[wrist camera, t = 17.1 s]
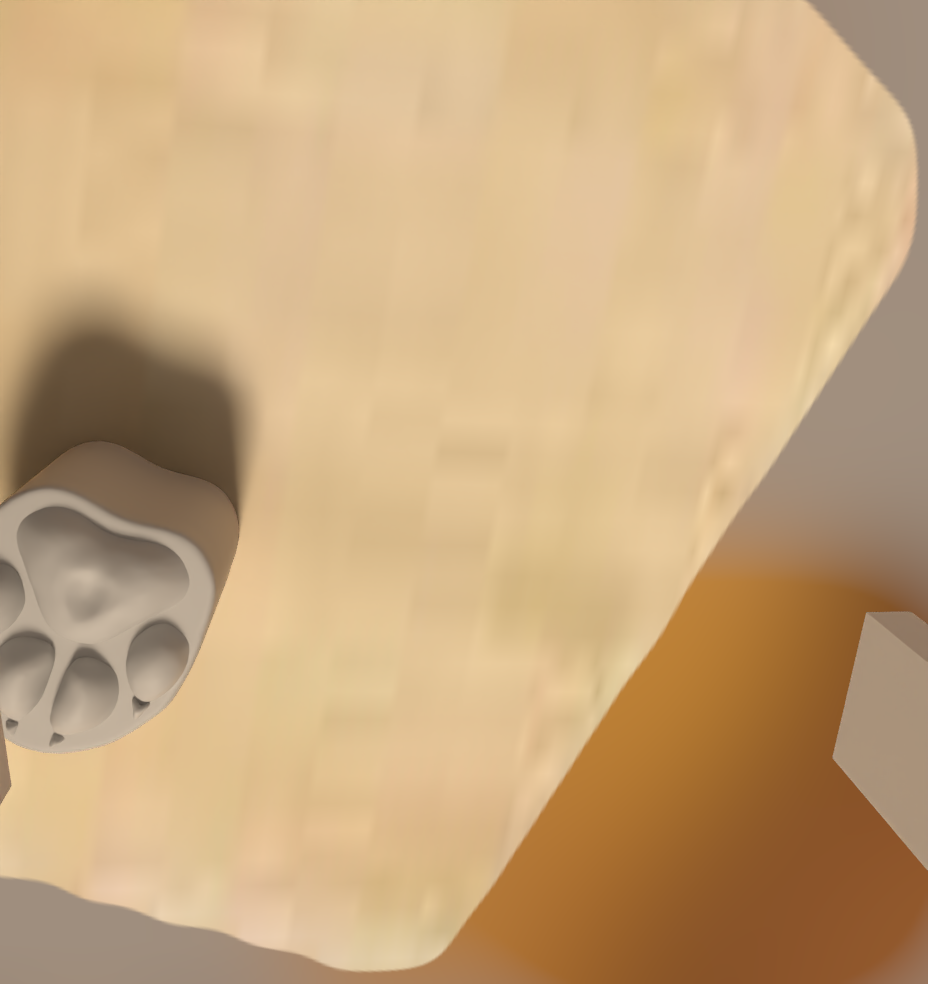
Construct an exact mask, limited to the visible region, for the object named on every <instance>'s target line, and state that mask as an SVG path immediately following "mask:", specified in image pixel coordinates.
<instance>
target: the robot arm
mask: <svg viewBox="0 0 928 984" xmlns="http://www.w3.org/2000/svg"><path fill="white" fill-rule="evenodd" d="M833 759H834V760H835V761H836V763H837V764H838V765H839V766H840V767H841V769H842V770H843V771H844V772H845V773H846V774H847V776H848V777H849V778H850V779H851V780H852V781H853V783H854V784H855V785H856V786H857V787H858V789H859V790H860V791H861V792H862V793H863V794H864V796H865V797H866V798H867V799H868V801H869V802H870V803H871V804H872V805H873V806H874V807H875V809H876V810H877V811H878V812H879V814H880V815H881V816H882V817H883V818H884V819H885V820H886V822H887V823H888V824H889V825H890V826H891V828H892V829H893V830H894V831H895V833H896V834H897V835H898V836H899V837H900V838H901V839H902V841H903V842H904V843H905V844H906V846H907V847H908V848H909V849H910V850H911V851H912V852H913V854H914V855H915V856H916V857H917V858H918V860H919V861H920V862H921V863H922V864H923V866H924V867H925V868H926V869H927V870H928V624H926V623H925V622H924V621H922V620H921V619H920V618H918V617H917V616H916V615H914V614H913V613H912V612H867V613H866V617H865V620H864V625H863V629H862V633H861V638H860V642H859V646H858V651H857V655H856V659H855V664H854V668H853V672H852V677H851V681H850V685H849V689H848V694H847V698H846V702H845V706H844V711H843V715H842V719H841V724H840V728H839V732H838V737H837V741H836V745H835V750H834V754H833ZM10 787H11V780H10V773H9V766H8V759H7V752H6V745H5V739H4V732H3V725H2V718H1V711H0V804H1V803H2V801H3V799H4V798H5V796H6V794H7V792H8V791H9V789H10Z"/></svg>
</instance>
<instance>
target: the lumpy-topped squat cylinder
mask: <svg viewBox="0 0 928 984" xmlns="http://www.w3.org/2000/svg"><path fill="white" fill-rule="evenodd" d="M238 539H239V524H238V518H237V515H236V512H235V509H234V507H233V505H232V503H231V501H230V499H229V498H228V496H227V495H226V494H225V493H224V492H223V491H222V490H221V489H220V488H218V487H217V486H216V485H214V484H212V483H210V482H208V481H206V480H203V479H200V478H197V477H193V476H189V475H185V474H181V473H177V472H173V471H170V470H167V469H164V468H162V467H159V466H157V465H155V464H153V463H151V462H150V461H148V460H146V459H144V458H143V457H141V456H139V455H138V454H136V453H134V452H132V451H131V450H129V449H127V448H125V447H122V446H120V445H117V444H114V443H111V442H106V441H91V442H86V443H83V444H80V445H77V446H75V447H73V448H71V449H69V450H67V451H66V452H64V453H63V454H62V455H60V456H59V457H58V458H57V459H55V460H54V461H53V462H52V463H50V464H49V465H48V466H47V467H46V468H44V469H43V470H42V471H41V472H39V473H38V474H37V475H36V476H34V477H33V478H32V479H31V480H29V481H28V482H27V483H26V484H25V485H23V486H22V487H21V488H20V489H18V490H17V491H16V492H15V493H13V494H12V495H11V496H10V497H8V498H7V499H6V500H5V501H4V502H3V503H2V504H1V505H0V711H1V718H2V725H3V732H4V737H5V738H6V739H8V740H9V741H10V742H12V743H14V744H16V745H18V746H20V747H23V748H26V749H30V750H33V751H38V752H43V753H56V754H61V753H72V752H79V751H85V750H89V749H93V748H97V747H101V746H104V745H107V744H110V743H112V742H114V741H117V740H119V739H121V738H122V737H124V736H126V735H128V734H129V733H131V732H133V731H134V730H136V729H137V728H139V727H140V726H142V725H143V724H145V723H146V722H148V721H149V720H151V719H152V718H153V717H155V716H156V715H158V714H159V713H160V712H161V711H163V710H164V709H165V708H166V707H167V706H168V705H169V704H170V702H171V701H172V700H173V698H174V697H175V696H176V694H177V692H178V691H179V689H180V687H181V686H182V684H183V682H184V681H185V679H186V677H187V675H188V673H189V672H190V670H191V668H192V666H193V663H194V661H195V659H196V657H197V655H198V653H199V650H200V648H201V645H202V643H203V640H204V638H205V635H206V632H207V630H208V627H209V625H210V622H211V620H212V617H213V615H214V612H215V609H216V607H217V604H218V602H219V599H220V596H221V594H222V591H223V588H224V586H225V583H226V581H227V578H228V575H229V571H230V568H231V565H232V562H233V559H234V556H235V553H236V549H237V545H238Z"/></svg>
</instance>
